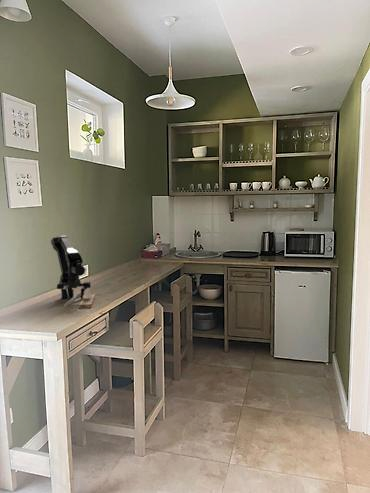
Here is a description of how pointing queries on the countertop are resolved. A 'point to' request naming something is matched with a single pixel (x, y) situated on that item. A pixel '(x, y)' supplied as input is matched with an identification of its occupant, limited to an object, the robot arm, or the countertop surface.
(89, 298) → the walnut board
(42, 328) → the countertop surface
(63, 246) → the robot arm
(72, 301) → the caliper
